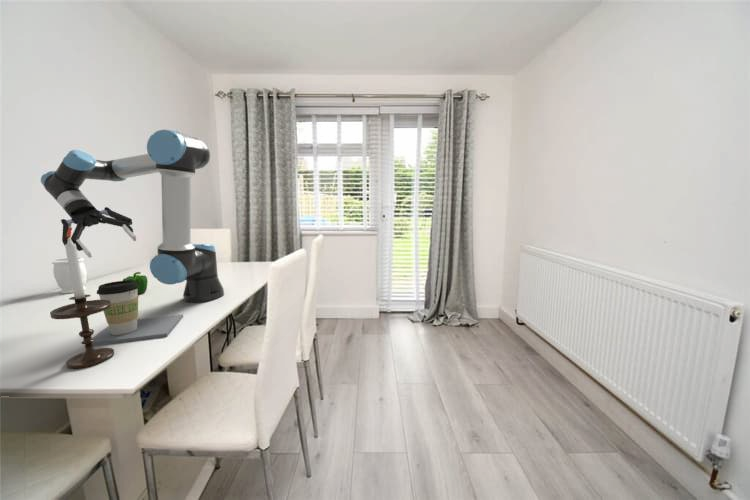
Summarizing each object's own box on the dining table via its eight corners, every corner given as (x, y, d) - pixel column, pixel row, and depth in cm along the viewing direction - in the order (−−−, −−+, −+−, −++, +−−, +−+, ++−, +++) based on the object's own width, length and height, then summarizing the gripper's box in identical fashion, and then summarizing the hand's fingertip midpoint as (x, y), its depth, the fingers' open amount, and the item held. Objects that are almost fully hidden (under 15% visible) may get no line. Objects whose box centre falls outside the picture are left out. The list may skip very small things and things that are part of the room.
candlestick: (128, 347, 83) (108, 223, 77) (97, 369, 72) (71, 227, 66) (85, 350, 81) (62, 224, 76) (47, 373, 71) (17, 228, 65)
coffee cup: (119, 339, 85) (111, 289, 83) (94, 335, 88) (86, 287, 86) (152, 325, 95) (146, 280, 93) (129, 323, 97) (123, 279, 95)
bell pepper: (119, 296, 129) (116, 273, 127) (138, 290, 137) (135, 269, 135) (134, 297, 127) (131, 274, 125) (153, 291, 135) (150, 270, 133)
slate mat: (183, 317, 105) (182, 314, 104) (167, 336, 90) (166, 333, 89) (114, 324, 98) (114, 321, 98) (85, 346, 83) (84, 343, 83)
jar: (50, 294, 132) (44, 261, 130) (77, 287, 142) (71, 257, 140) (70, 295, 131) (63, 262, 128) (95, 288, 141) (90, 257, 138)
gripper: (119, 202, 119) (151, 238, 116) (34, 225, 101) (71, 269, 98) (116, 188, 114) (150, 226, 111) (26, 211, 96) (65, 256, 93)
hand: (113, 246), depth 105 cm, fingers open, 13 cm apart
